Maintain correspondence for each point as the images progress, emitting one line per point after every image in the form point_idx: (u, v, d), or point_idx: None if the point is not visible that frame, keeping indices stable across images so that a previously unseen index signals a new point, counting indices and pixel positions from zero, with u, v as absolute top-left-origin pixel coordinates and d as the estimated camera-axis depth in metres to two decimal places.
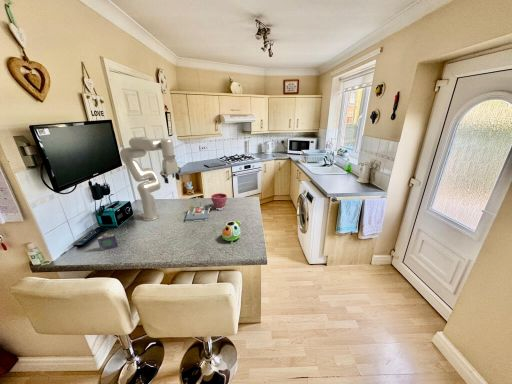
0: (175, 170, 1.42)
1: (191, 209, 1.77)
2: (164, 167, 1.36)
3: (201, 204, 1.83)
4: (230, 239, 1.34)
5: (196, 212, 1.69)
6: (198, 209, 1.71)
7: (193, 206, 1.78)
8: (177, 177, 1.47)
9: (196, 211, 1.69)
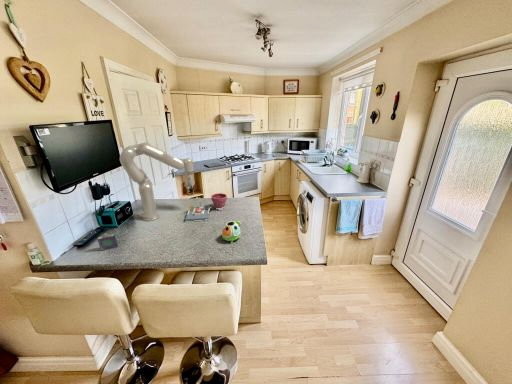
0: None
1: (191, 209, 1.77)
2: None
3: (201, 204, 1.83)
4: (230, 239, 1.34)
5: (196, 212, 1.69)
6: (198, 209, 1.71)
7: (193, 206, 1.78)
8: None
9: (196, 211, 1.69)
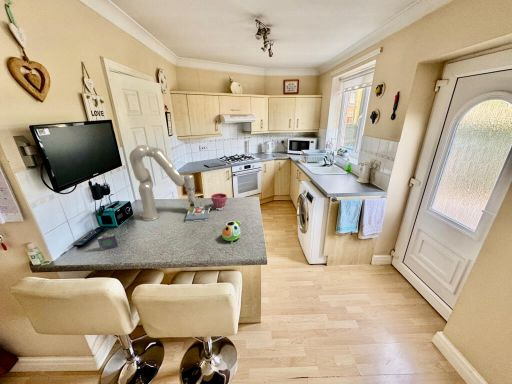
0: None
1: (191, 210, 1.76)
2: None
3: (201, 204, 1.83)
4: (230, 239, 1.34)
5: (196, 212, 1.69)
6: (198, 209, 1.71)
7: (193, 207, 1.77)
8: None
9: (196, 211, 1.69)
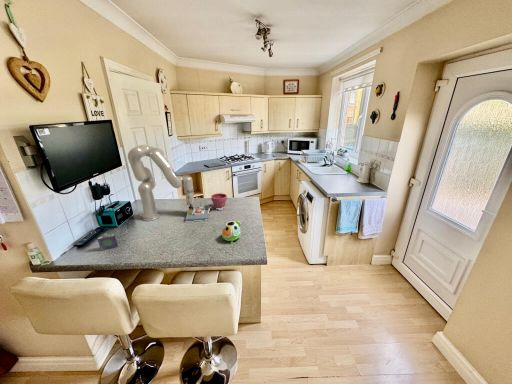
0: None
1: (189, 213, 1.70)
2: None
3: (201, 204, 1.83)
4: (230, 239, 1.34)
5: (196, 212, 1.69)
6: (198, 209, 1.71)
7: (191, 209, 1.71)
8: None
9: (196, 211, 1.69)
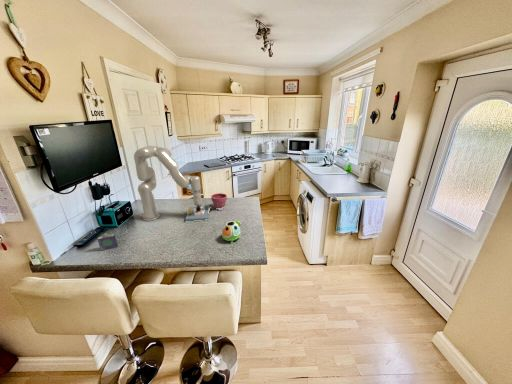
0: None
1: (189, 213, 1.70)
2: None
3: (201, 204, 1.83)
4: (230, 239, 1.34)
5: None
6: None
7: (191, 209, 1.71)
8: None
9: (196, 212, 1.69)
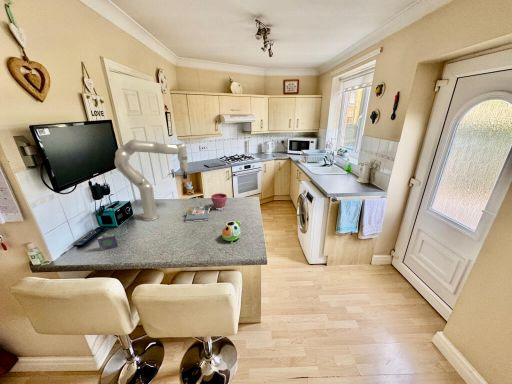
0: None
1: (189, 213, 1.70)
2: None
3: (201, 204, 1.83)
4: (230, 239, 1.34)
5: None
6: (198, 211, 1.72)
7: (191, 209, 1.71)
8: None
9: None
